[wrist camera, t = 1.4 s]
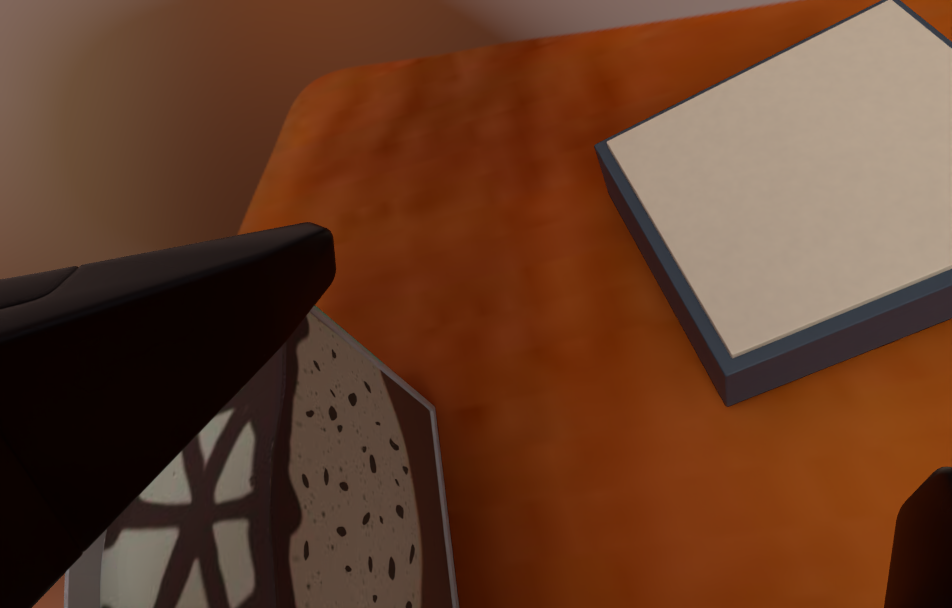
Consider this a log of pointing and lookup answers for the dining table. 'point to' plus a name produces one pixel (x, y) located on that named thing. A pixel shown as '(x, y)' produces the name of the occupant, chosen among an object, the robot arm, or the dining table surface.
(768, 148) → the stand
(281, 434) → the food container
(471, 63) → the dining table surface
